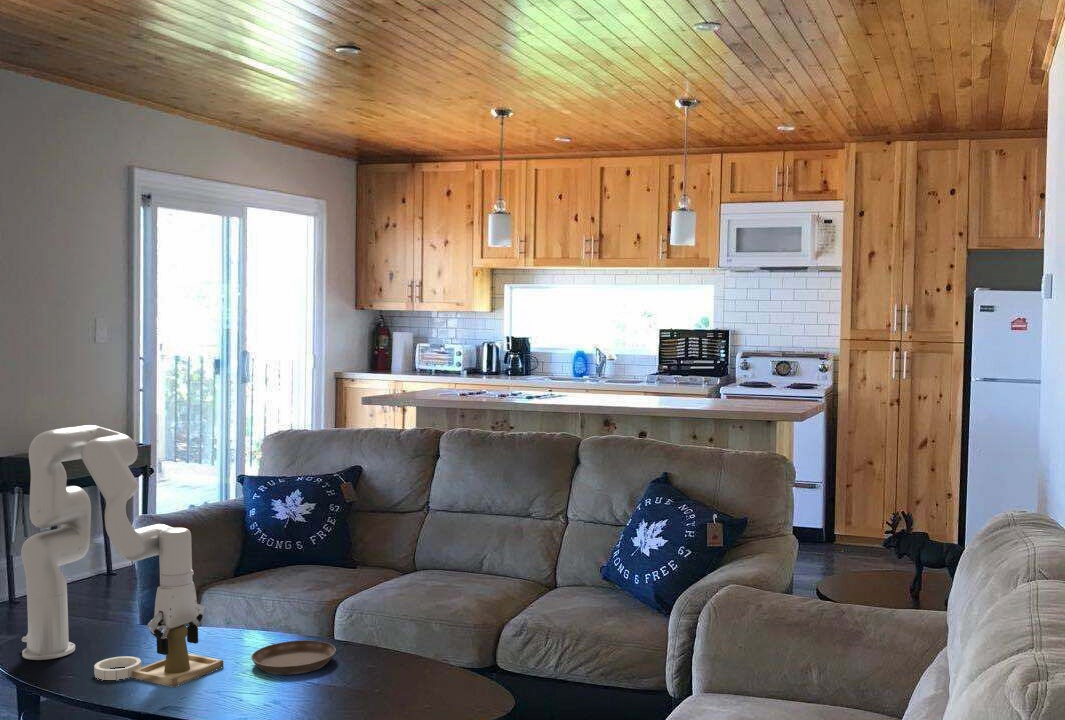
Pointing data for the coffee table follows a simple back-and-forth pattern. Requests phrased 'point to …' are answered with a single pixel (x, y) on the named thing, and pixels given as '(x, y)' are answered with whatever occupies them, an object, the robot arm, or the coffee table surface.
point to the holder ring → (106, 673)
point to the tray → (158, 675)
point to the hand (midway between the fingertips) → (177, 648)
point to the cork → (177, 651)
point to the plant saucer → (293, 657)
